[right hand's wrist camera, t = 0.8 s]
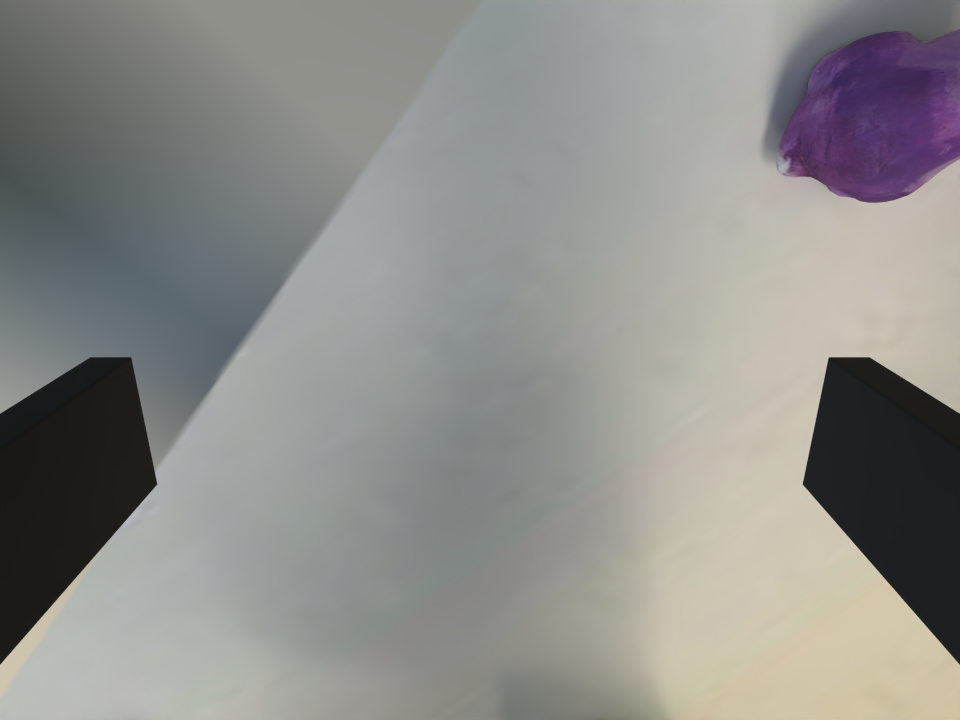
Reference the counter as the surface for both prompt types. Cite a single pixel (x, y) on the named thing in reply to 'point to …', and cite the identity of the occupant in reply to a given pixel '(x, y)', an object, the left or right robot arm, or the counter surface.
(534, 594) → the counter surface
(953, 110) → the figurine
